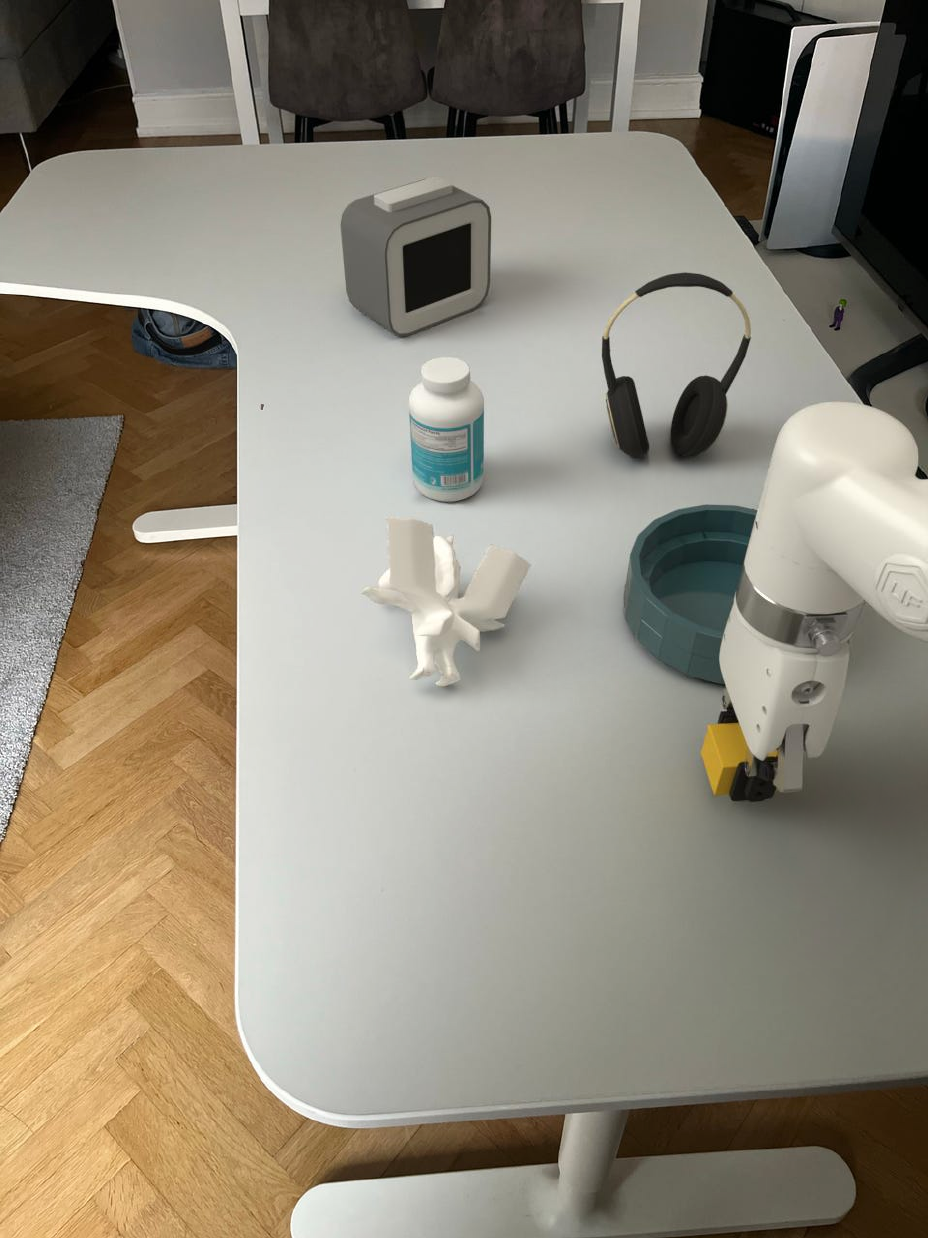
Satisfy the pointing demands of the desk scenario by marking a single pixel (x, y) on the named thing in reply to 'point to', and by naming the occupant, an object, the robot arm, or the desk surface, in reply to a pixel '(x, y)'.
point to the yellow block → (724, 755)
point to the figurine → (444, 593)
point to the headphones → (698, 403)
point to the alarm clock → (417, 254)
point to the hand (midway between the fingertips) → (741, 769)
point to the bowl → (687, 584)
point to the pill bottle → (447, 431)
